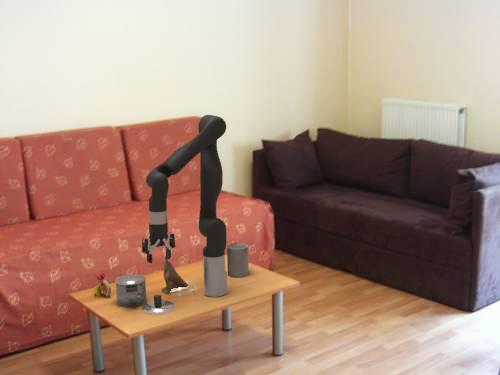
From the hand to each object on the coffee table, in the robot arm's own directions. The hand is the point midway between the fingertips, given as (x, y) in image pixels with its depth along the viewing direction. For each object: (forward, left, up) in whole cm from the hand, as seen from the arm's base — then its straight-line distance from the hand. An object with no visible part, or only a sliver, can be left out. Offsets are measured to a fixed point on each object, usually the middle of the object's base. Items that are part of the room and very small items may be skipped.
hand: (159, 260), depth 285 cm
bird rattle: (+23, -18, -19) cm, 35 cm away
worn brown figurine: (-7, -16, -19) cm, 26 cm away
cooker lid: (+2, +3, -19) cm, 20 cm away
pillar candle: (-37, -28, -19) cm, 51 cm away
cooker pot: (+12, -7, -19) cm, 23 cm away
